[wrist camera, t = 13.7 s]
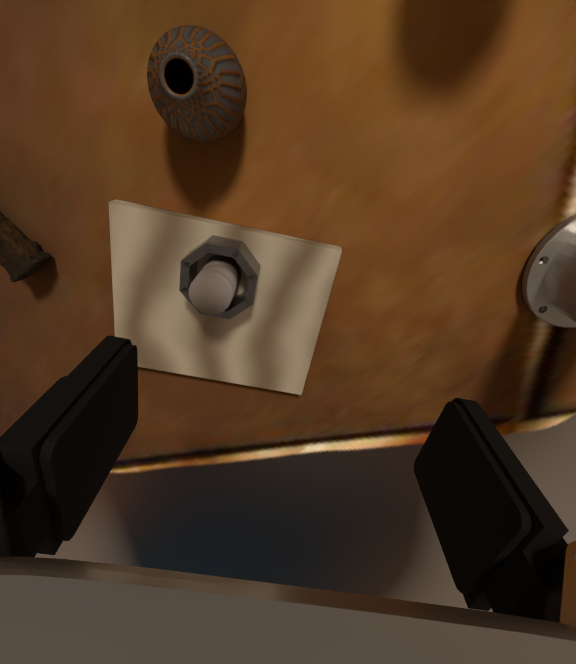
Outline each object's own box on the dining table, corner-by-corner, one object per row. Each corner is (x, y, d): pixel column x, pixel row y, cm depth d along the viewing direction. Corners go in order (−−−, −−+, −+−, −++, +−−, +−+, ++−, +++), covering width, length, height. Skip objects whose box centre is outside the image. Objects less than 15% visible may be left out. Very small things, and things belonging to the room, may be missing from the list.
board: (340, 246, 34) (350, 270, 28) (301, 387, 43) (302, 431, 36) (116, 199, 33) (70, 213, 26) (121, 355, 41) (88, 396, 34)
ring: (264, 245, 33) (261, 254, 30) (253, 310, 36) (250, 323, 34) (191, 230, 32) (181, 238, 30) (187, 297, 36) (178, 310, 33)
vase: (228, 158, 31) (206, 163, 23) (156, 111, 29) (105, 99, 21) (266, 77, 28) (255, 51, 20) (188, 20, 26) (143, -32, 19)
